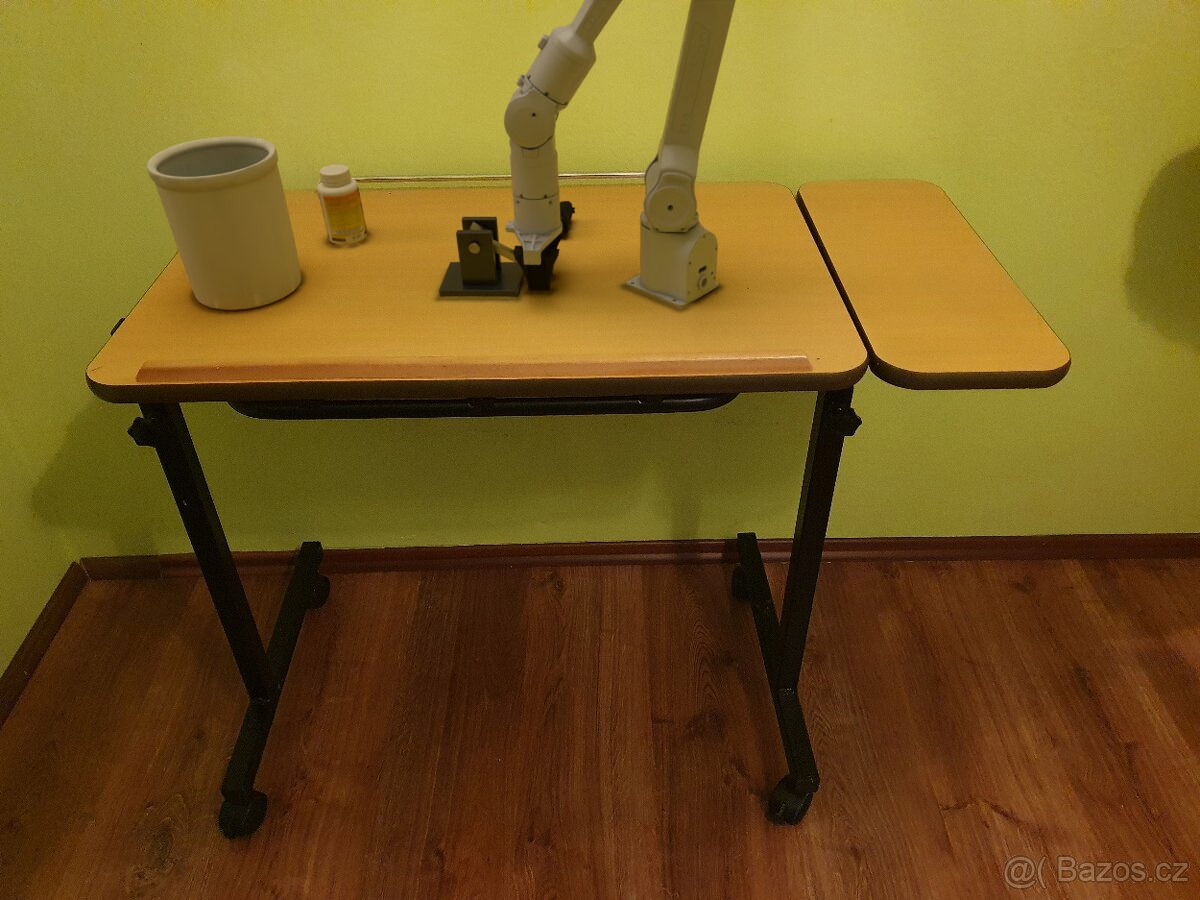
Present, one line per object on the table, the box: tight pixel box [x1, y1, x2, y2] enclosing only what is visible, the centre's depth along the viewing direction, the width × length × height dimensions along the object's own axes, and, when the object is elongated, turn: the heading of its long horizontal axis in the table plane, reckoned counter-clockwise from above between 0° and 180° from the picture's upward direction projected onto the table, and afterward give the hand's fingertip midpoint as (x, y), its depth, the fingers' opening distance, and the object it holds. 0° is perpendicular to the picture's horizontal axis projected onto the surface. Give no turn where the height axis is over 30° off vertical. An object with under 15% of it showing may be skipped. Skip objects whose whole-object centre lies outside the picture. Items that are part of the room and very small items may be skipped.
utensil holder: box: [146, 135, 302, 311], centre depth 114 cm, size 15×15×18 cm
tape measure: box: [560, 200, 576, 236], centre depth 129 cm, size 7×7×4 cm
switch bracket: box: [438, 216, 524, 298], centre depth 116 cm, size 10×8×8 cm
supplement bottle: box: [316, 163, 368, 246], centre depth 127 cm, size 6×6×10 cm
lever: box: [469, 222, 518, 263], centre depth 115 cm, size 12×3×3 cm, turn 88°
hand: (541, 290), depth 118 cm, fingers closed on lever, 3 cm apart
